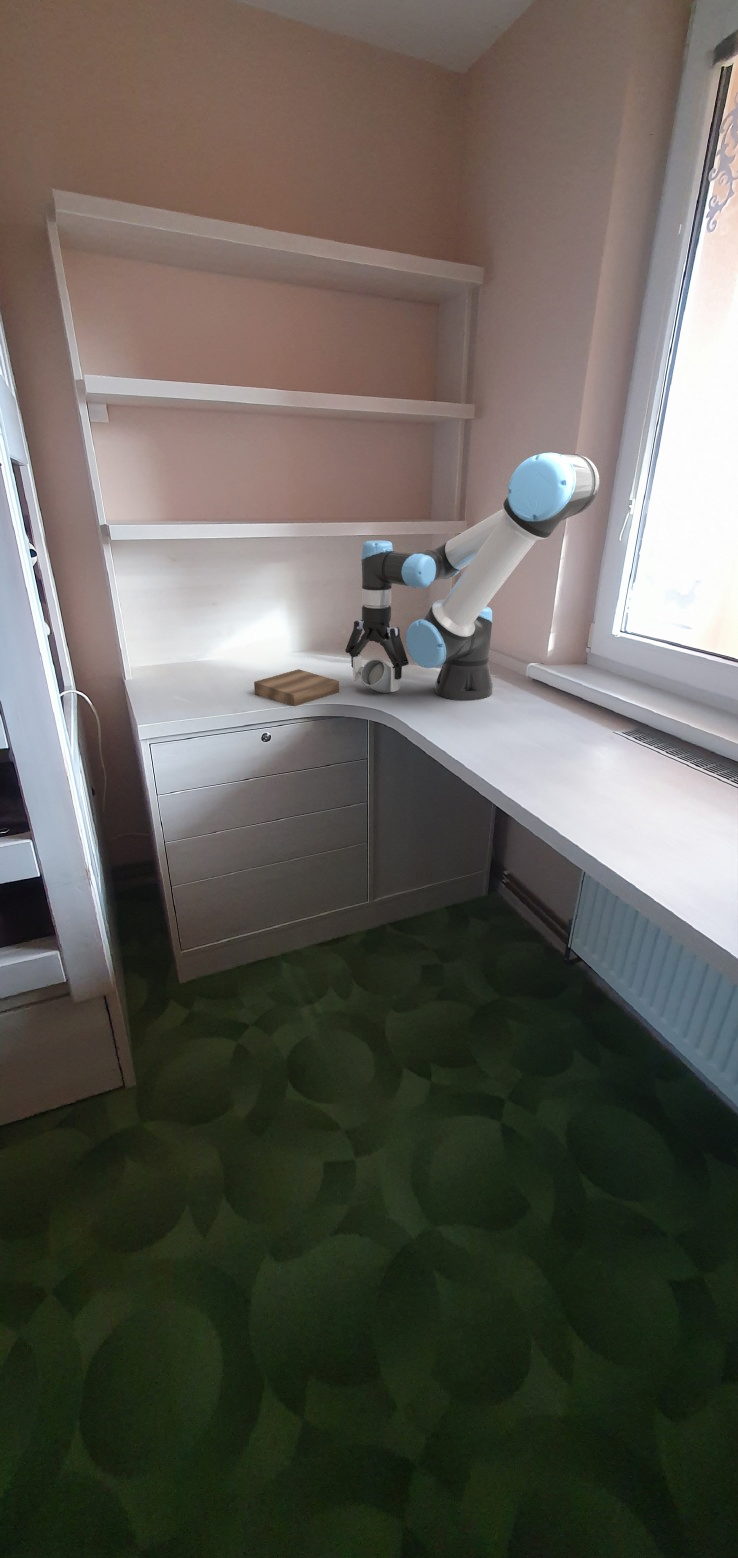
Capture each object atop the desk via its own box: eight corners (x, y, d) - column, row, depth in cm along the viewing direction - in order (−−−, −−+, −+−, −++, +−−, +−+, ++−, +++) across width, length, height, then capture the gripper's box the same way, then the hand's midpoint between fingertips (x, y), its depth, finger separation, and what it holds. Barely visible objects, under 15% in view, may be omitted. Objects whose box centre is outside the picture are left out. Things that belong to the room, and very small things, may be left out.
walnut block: (339, 695, 176) (338, 680, 174) (294, 710, 165) (294, 695, 164) (299, 682, 186) (298, 669, 184) (255, 696, 175) (254, 681, 173)
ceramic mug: (387, 700, 176) (406, 678, 173) (370, 691, 169) (389, 668, 167) (367, 678, 181) (384, 656, 179) (349, 668, 175) (367, 646, 173)
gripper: (424, 609, 161) (420, 691, 170) (351, 596, 176) (351, 672, 185) (404, 614, 156) (402, 698, 165) (331, 600, 171) (333, 678, 180)
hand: (375, 685), depth 175 cm, fingers open, 13 cm apart
